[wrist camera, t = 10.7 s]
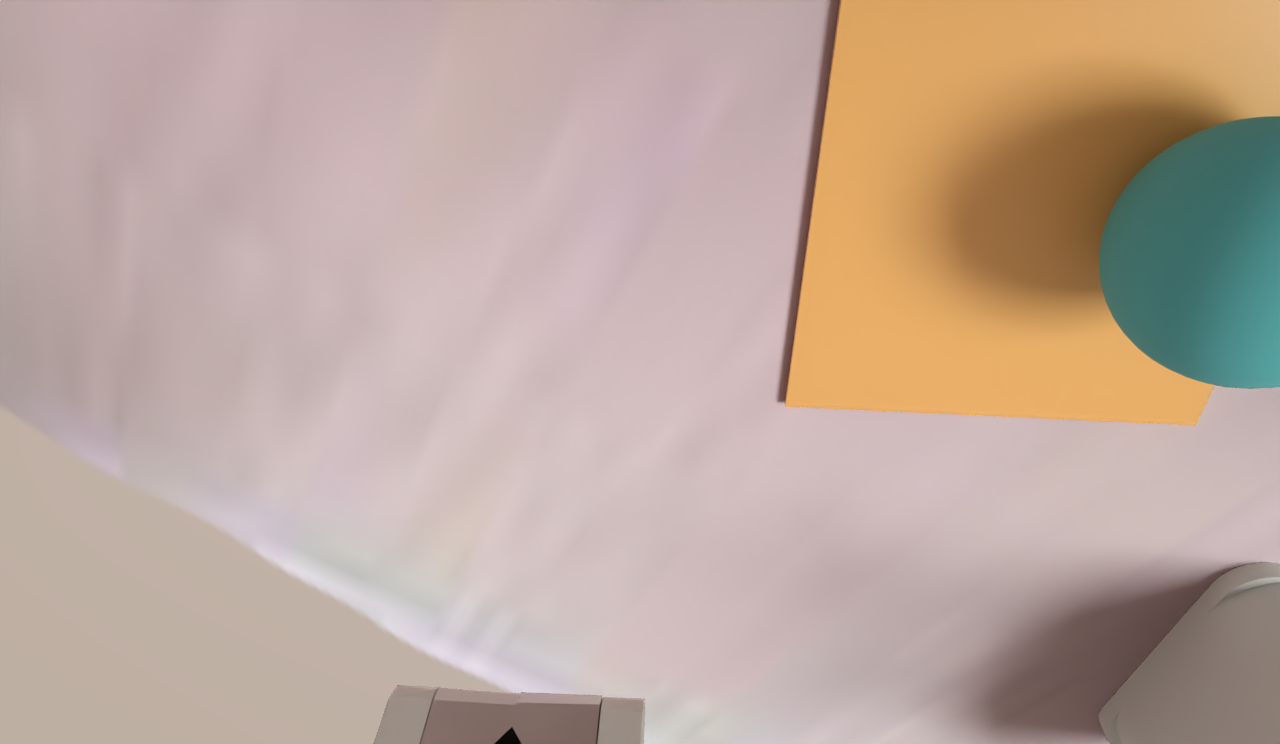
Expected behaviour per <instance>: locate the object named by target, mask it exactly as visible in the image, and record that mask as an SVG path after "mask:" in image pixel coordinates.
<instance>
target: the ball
mask: <svg viewBox="0 0 1280 744" xmlns="http://www.w3.org/2000/svg"><path fill="white" fill-rule="evenodd" d="M1099 273H1100V282H1101V287H1102V291H1103V294H1104V297H1105V301H1106V303H1107V306H1108V308H1109V310H1110V312H1111V314H1112V316H1113V318H1114V320H1115V321H1116V323H1117V324H1118V326H1119V327H1120V328H1121V330H1122V331H1123V333H1124V334H1125V335H1126V336H1127V337H1128V338H1129V339H1130V340H1131V341H1132V342H1133V344H1134V345H1135V346H1136V347H1137V348H1138V349H1140V350H1141V351H1142V352H1143V353H1145V354H1146V355H1147V356H1148V357H1150V358H1151V359H1152V360H1154V361H1155V362H1157V363H1159V364H1160V365H1162V366H1164V367H1165V368H1167V369H1169V370H1171V371H1174V372H1176V373H1178V374H1180V375H1183V376H1185V377H1187V378H1190V379H1194V380H1197V381H1200V382H1203V383H1207V384H1212V385H1218V386H1223V387H1234V388H1251V389H1252V388H1273V387H1279V386H1280V116H1266V117H1254V118H1247V119H1239V120H1235V121H1231V122H1227V123H1222V124H1218V125H1216V126H1213V127H1210V128H1207V129H1205V130H1202V131H1199V132H1197V133H1195V134H1193V135H1191V136H1189V137H1187V138H1185V139H1183V140H1181V141H1179V142H1177V143H1175V144H1174V145H1172V146H1170V147H1169V148H1167V149H1166V150H1164V151H1163V152H1161V153H1160V154H1158V155H1157V156H1156V157H1155V158H1154V159H1152V160H1151V161H1150V162H1149V163H1148V164H1146V165H1145V166H1144V167H1143V168H1142V169H1141V170H1140V171H1139V172H1138V173H1137V174H1136V175H1135V177H1134V178H1133V179H1132V180H1131V181H1130V182H1129V183H1128V185H1127V186H1126V187H1125V189H1124V190H1123V191H1122V193H1121V194H1120V196H1119V197H1118V199H1117V201H1116V203H1115V204H1114V206H1113V208H1112V210H1111V212H1110V214H1109V216H1108V219H1107V222H1106V225H1105V227H1104V230H1103V234H1102V238H1101V245H1100V251H1099Z"/></svg>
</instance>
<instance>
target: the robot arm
mask: <svg viewBox="0 0 1280 744" xmlns="http://www.w3.org/2000/svg"><path fill="white" fill-rule="evenodd" d="M644 724H645V699H642V698H614V697H603V698H602V696H601V695H575V694H550V693H525V692H521V693H508V692H492V691H477V690H462V689H448V688H440V687H425V686H405V685H397V687H396V688H395V690H394V691H393V693H392V694H391V696H390V697H389V699H388V702H387V705H386V708H385V711H384V714H383V717H382V720H381V723H380V726H379V729H378V732H377V735H376V738H375V741H374V744H644Z"/></svg>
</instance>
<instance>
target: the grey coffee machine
mask: <svg viewBox="0 0 1280 744" xmlns="http://www.w3.org/2000/svg"><path fill="white" fill-rule="evenodd" d="M1099 722H1100V725H1101V727H1102V729H1103V732H1104V734H1105V736H1106V739H1107V740H1108V742H1110V743H1111V744H1280V564H1276V563H1268V562H1260V563H1252V564H1247V565H1243V566H1240V567H1237V568H1234V569H1232V570H1230V571H1228V572H1226V573H1224V574H1223V575H1221V576H1220V577H1219V578H1217V579H1216V580H1215V581H1214V582H1213V583H1212V584H1211V585H1210V586H1209V587H1208V589H1207V590H1206V591H1205V592H1204V593H1203V594H1202V595H1201V597H1200V598H1199V599H1198V600H1197V601H1196V602H1195V603H1194V604H1193V606H1192V607H1191V608H1190V609H1189V610H1188V611H1187V612H1186V614H1185V615H1184V616H1183V617H1182V618H1181V619H1180V620H1179V621H1178V623H1177V624H1176V625H1175V626H1174V627H1173V628H1172V629H1171V631H1170V632H1169V633H1168V634H1167V635H1166V636H1165V637H1164V638H1163V640H1162V641H1161V642H1160V643H1159V644H1158V645H1157V646H1156V648H1155V649H1154V650H1153V651H1152V652H1151V653H1150V654H1149V655H1148V657H1147V658H1146V659H1145V660H1144V661H1143V662H1142V663H1141V665H1140V666H1139V667H1138V668H1137V669H1136V670H1135V671H1134V672H1133V674H1132V675H1131V676H1130V677H1129V678H1128V679H1127V680H1126V682H1125V683H1124V684H1123V685H1122V686H1121V687H1120V688H1119V689H1118V691H1117V692H1116V693H1115V694H1114V695H1113V696H1112V697H1111V699H1110V700H1109V701H1108V702H1107V703H1106V704H1105V705H1104V706H1103V708H1102V709H1101V711H1100V713H1099Z"/></svg>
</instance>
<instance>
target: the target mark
mask: <svg viewBox="0 0 1280 744" xmlns="http://www.w3.org/2000/svg"><path fill="white" fill-rule="evenodd" d="M1266 116H1280V0H840V3H839V11H838V18H837V25H836V33H835V40H834V47H833V55H832V62H831V69H830V77H829V84H828V91H827V98H826V106H825V113H824V120H823V128H822V135H821V142H820V150H819V157H818V164H817V172H816V179H815V186H814V193H813V201H812V208H811V215H810V223H809V230H808V237H807V245H806V252H805V259H804V267H803V274H802V281H801V288H800V296H799V303H798V310H797V318H796V325H795V332H794V340H793V347H792V354H791V362H790V369H789V376H788V383H787V391H786V398H785V406H786V407H807V408H829V409H851V410H873V411H895V412H916V413H938V414H960V415H982V416H1004V417H1025V418H1047V419H1069V420H1091V421H1113V422H1135V423H1156V424H1178V425H1196V424H1197V421H1198V419H1199V417H1200V415H1201V413H1202V411H1203V409H1204V407H1205V405H1206V402H1207V400H1208V398H1209V396H1210V394H1211V392H1212V390H1213V388H1214V385H1212V384H1207V383H1203V382H1200V381H1197V380H1194V379H1190V378H1187V377H1185V376H1183V375H1180V374H1178V373H1176V372H1174V371H1171V370H1169V369H1167V368H1165V367H1164V366H1162V365H1160V364H1159V363H1157V362H1155V361H1154V360H1152V359H1151V358H1150V357H1148V356H1147V355H1146V354H1145V353H1143V352H1142V351H1141V350H1140V349H1138V348H1137V347H1136V346H1135V345H1134V344H1133V342H1132V341H1131V340H1130V339H1129V338H1128V337H1127V336H1126V335H1125V334H1124V333H1123V331H1122V330H1121V328H1120V327H1119V326H1118V324H1117V323H1116V321H1115V320H1114V318H1113V316H1112V314H1111V312H1110V310H1109V308H1108V306H1107V303H1106V301H1105V297H1104V294H1103V291H1102V287H1101V282H1100V273H1099V251H1100V245H1101V238H1102V234H1103V230H1104V227H1105V225H1106V222H1107V219H1108V216H1109V214H1110V212H1111V210H1112V208H1113V206H1114V204H1115V203H1116V201H1117V199H1118V197H1119V196H1120V194H1121V193H1122V191H1123V190H1124V189H1125V187H1126V186H1127V185H1128V183H1129V182H1130V181H1131V180H1132V179H1133V178H1134V177H1135V175H1136V174H1137V173H1138V172H1139V171H1140V170H1141V169H1142V168H1143V167H1144V166H1145V165H1146V164H1148V163H1149V162H1150V161H1151V160H1152V159H1154V158H1155V157H1156V156H1157V155H1158V154H1160V153H1161V152H1163V151H1164V150H1166V149H1167V148H1169V147H1170V146H1172V145H1174V144H1175V143H1177V142H1179V141H1181V140H1183V139H1185V138H1187V137H1189V136H1191V135H1193V134H1195V133H1197V132H1199V131H1202V130H1205V129H1207V128H1210V127H1213V126H1216V125H1218V124H1222V123H1227V122H1231V121H1235V120H1239V119H1247V118H1254V117H1266Z"/></svg>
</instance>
